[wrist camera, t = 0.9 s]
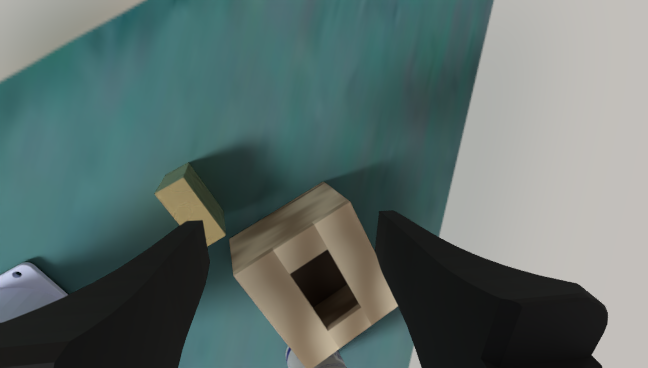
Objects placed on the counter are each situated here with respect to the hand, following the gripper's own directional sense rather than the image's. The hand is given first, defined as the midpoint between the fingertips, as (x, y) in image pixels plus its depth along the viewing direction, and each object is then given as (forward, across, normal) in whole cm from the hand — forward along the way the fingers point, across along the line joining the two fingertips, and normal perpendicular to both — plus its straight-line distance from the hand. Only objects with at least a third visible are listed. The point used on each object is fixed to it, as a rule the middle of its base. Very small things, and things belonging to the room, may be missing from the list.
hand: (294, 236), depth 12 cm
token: (+13, +8, +4) cm, 16 cm away
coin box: (+14, -2, +12) cm, 18 cm away
